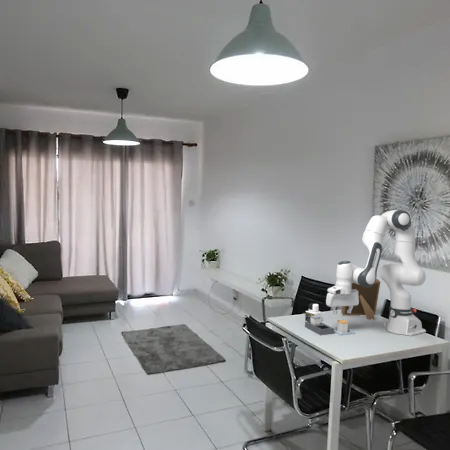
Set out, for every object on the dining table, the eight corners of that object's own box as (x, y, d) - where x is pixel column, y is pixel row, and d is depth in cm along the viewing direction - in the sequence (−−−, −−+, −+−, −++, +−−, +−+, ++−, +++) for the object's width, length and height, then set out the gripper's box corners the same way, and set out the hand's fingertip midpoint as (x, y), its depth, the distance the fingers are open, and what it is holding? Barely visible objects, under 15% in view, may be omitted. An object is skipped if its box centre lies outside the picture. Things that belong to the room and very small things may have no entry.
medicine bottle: (304, 322, 262) (305, 303, 261) (312, 320, 266) (313, 301, 265) (313, 325, 256) (314, 305, 255) (321, 323, 260) (322, 304, 260)
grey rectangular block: (316, 326, 249) (316, 315, 249) (320, 328, 245) (320, 317, 245) (310, 327, 248) (310, 315, 247) (314, 329, 244) (314, 317, 243)
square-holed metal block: (304, 328, 249) (305, 321, 248) (317, 327, 252) (318, 320, 252) (320, 337, 234) (320, 329, 233) (333, 335, 237) (333, 328, 237)
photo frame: (341, 313, 283) (342, 277, 281) (372, 313, 285) (374, 277, 283) (348, 320, 268) (350, 281, 266) (381, 320, 270) (383, 282, 268)
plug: (343, 331, 243) (343, 319, 242) (347, 333, 239) (347, 321, 238) (337, 332, 241) (337, 320, 241) (341, 334, 237) (341, 322, 237)
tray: (344, 330, 247) (344, 327, 246) (355, 335, 237) (355, 332, 237) (329, 332, 243) (329, 328, 243) (340, 337, 234) (340, 333, 234)
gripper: (354, 287, 245) (353, 311, 246) (325, 289, 238) (323, 313, 239) (361, 290, 239) (360, 314, 240) (331, 291, 232) (330, 316, 233)
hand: (342, 313), depth 239 cm, fingers open, 8 cm apart
